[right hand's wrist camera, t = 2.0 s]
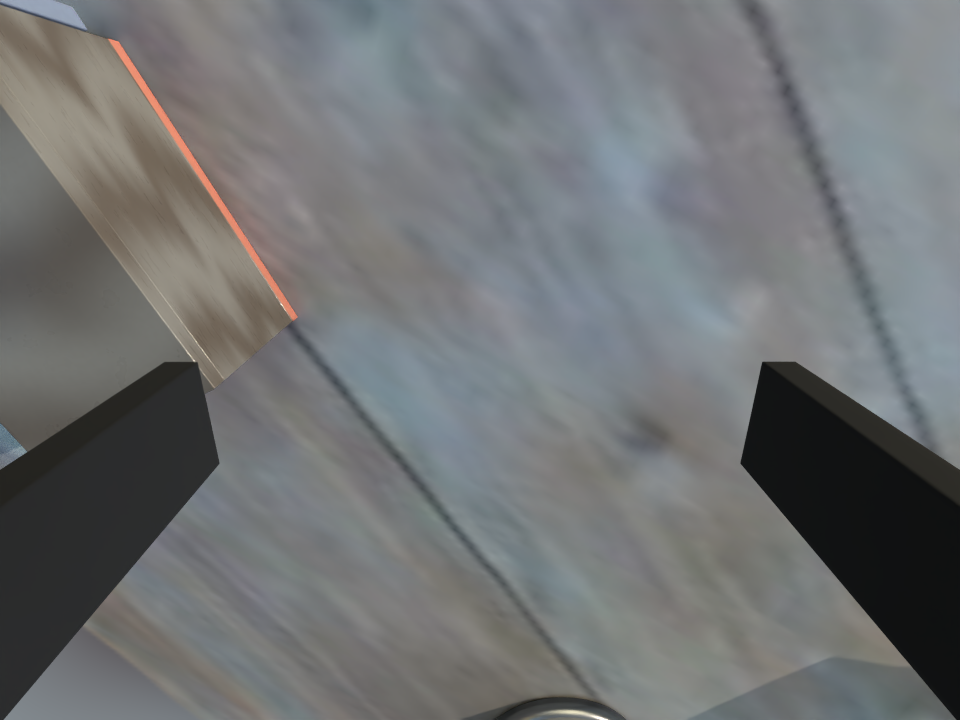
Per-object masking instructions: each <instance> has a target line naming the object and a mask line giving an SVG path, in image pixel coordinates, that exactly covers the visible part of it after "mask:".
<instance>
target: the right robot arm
mask: <svg viewBox="0 0 960 720" xmlns="http://www.w3.org/2000/svg"><path fill="white" fill-rule="evenodd" d="M218 465H219V459H218V454H217V449H216V445H215V440H214V436H213V431H212V426H211V422H210V417H209V412H208V408H207V403H206V398H205V394H204V389H203V384H202V380H201V375H200V370H199V366H198V362H164V363H162V364H161V365H159V366H158V367H156V368H154V369H153V370H151V371H150V372H148V373H147V374H145V375H144V376H142V377H141V378H139V379H138V380H136V381H135V382H133V383H132V384H130V385H129V386H127V387H126V388H124V389H123V390H121V391H120V392H118V393H116V394H115V395H113V396H112V397H110V398H109V399H107V400H106V401H104V402H103V403H101V404H100V405H98V406H97V407H95V408H94V409H92V410H91V411H89V412H88V413H86V414H85V415H83V416H82V417H80V418H78V419H77V420H75V421H74V422H72V423H71V424H69V425H68V426H66V427H65V428H63V429H62V430H60V431H59V432H57V433H56V434H54V435H53V436H51V437H50V438H48V439H47V440H45V441H44V442H42V443H40V444H39V445H37V446H36V447H34V448H33V449H31V450H30V451H28V452H27V453H25V454H24V455H22V456H21V457H19V458H18V459H16V460H15V461H13V462H12V463H10V464H9V465H7V466H6V467H4V468H2V469H1V470H0V720H4V718H5V717H6V716H7V715H8V714H9V713H10V711H11V710H12V709H13V708H14V707H15V705H16V704H17V703H18V702H19V701H20V699H21V698H22V697H23V696H24V695H25V694H26V692H27V691H28V690H29V689H30V688H31V686H32V685H33V684H34V683H35V682H36V681H37V679H38V678H39V677H40V676H41V675H42V673H43V672H44V671H45V670H46V669H47V667H48V666H49V665H50V664H51V663H52V662H53V660H54V659H55V658H56V657H57V656H58V654H59V653H60V652H61V651H62V650H63V649H64V647H65V646H66V645H67V644H68V643H69V641H70V640H71V639H72V638H73V637H74V635H75V634H76V633H77V632H78V631H79V630H80V628H81V627H82V626H83V625H84V624H85V622H86V621H87V620H88V619H89V618H90V616H91V615H92V614H93V613H94V612H95V611H96V609H97V608H98V607H99V606H100V605H101V603H102V602H103V601H104V600H105V599H106V597H107V596H108V595H109V594H110V593H111V592H112V590H113V589H114V588H115V587H116V586H117V584H118V583H119V582H120V581H121V580H122V579H123V577H124V576H125V575H126V574H127V573H128V571H129V570H130V569H131V568H132V567H133V565H134V564H135V563H136V562H137V561H138V560H139V558H140V557H141V556H142V555H143V554H144V552H145V551H146V550H147V549H148V548H149V546H150V545H151V544H152V543H153V542H154V541H155V539H156V538H157V537H158V536H159V535H160V533H161V532H162V531H163V530H164V529H165V527H166V526H167V525H168V524H169V523H170V522H171V520H172V519H173V518H174V517H175V516H176V514H177V513H178V512H179V511H180V510H181V509H182V507H183V506H184V505H185V504H186V503H187V501H188V500H189V499H190V498H191V497H192V495H193V494H194V493H195V492H196V491H197V490H198V488H199V487H200V486H201V485H202V484H203V482H204V481H205V480H206V479H207V478H208V476H209V475H210V474H211V473H212V472H213V471H214V469H215V468H216V467H217V466H218ZM741 465H742V466H743V467H744V468H745V469H746V471H747V472H748V473H749V474H750V475H751V476H752V478H753V479H754V480H755V481H756V482H757V484H758V485H759V486H760V487H761V488H762V490H763V491H764V492H765V493H766V494H767V495H768V497H769V498H770V499H771V500H772V501H773V503H774V504H775V505H776V506H777V507H778V509H779V510H780V511H781V512H782V513H783V514H784V516H785V517H786V518H787V519H788V520H789V522H790V523H791V524H792V525H793V526H794V527H795V529H796V530H797V531H798V532H799V533H800V535H801V536H802V537H803V538H804V539H805V541H806V542H807V543H808V544H809V545H810V546H811V548H812V549H813V550H814V551H815V552H816V554H817V555H818V556H819V557H820V558H821V560H822V561H823V562H824V563H825V564H826V565H827V567H828V568H829V569H830V570H831V571H832V573H833V574H834V575H835V576H836V577H837V579H838V580H839V581H840V582H841V583H842V584H843V586H844V587H845V588H846V589H847V590H848V592H849V593H850V594H851V595H852V596H853V597H854V599H855V600H856V601H857V602H858V603H859V605H860V606H861V607H862V608H863V609H864V611H865V612H866V613H867V614H868V615H869V616H870V618H871V619H872V620H873V621H874V622H875V624H876V625H877V626H878V627H879V628H880V630H881V631H882V632H883V633H884V634H885V635H886V637H887V638H888V639H889V640H890V641H891V643H892V644H893V645H894V646H895V647H896V649H897V650H898V651H899V652H900V653H901V654H902V656H903V657H904V658H905V659H906V660H907V662H908V663H909V664H910V665H911V666H912V667H913V669H914V670H915V671H916V672H917V673H918V675H919V676H920V677H921V678H922V679H923V681H924V682H925V683H926V684H927V685H928V686H929V688H930V689H931V690H932V691H933V692H934V694H935V695H936V696H937V697H938V698H939V700H940V701H941V702H942V703H943V704H944V705H945V707H946V708H947V709H948V710H949V711H950V713H951V714H952V715H953V716H954V717H955V718H956V720H960V470H959V469H958V468H956V467H954V466H953V465H951V464H950V463H948V462H947V461H945V460H944V459H942V458H941V457H939V456H938V455H936V454H935V453H933V452H932V451H930V450H929V449H927V448H926V447H924V446H923V445H921V444H920V443H918V442H916V441H915V440H913V439H912V438H910V437H909V436H907V435H906V434H904V433H903V432H901V431H900V430H898V429H897V428H895V427H894V426H892V425H891V424H889V423H888V422H886V421H885V420H883V419H882V418H880V417H878V416H877V415H875V414H874V413H872V412H871V411H869V410H868V409H866V408H865V407H863V406H862V405H860V404H859V403H857V402H856V401H854V400H853V399H851V398H850V397H848V396H847V395H845V394H844V393H842V392H840V391H839V390H837V389H836V388H834V387H833V386H831V385H830V384H828V383H827V382H825V381H824V380H822V379H821V378H819V377H818V376H816V375H815V374H813V373H812V372H810V371H809V370H807V369H806V368H804V367H802V366H801V365H799V364H798V363H796V362H762V366H761V370H760V375H759V380H758V384H757V389H756V394H755V398H754V403H753V408H752V412H751V417H750V422H749V426H748V431H747V436H746V440H745V445H744V449H743V454H742V459H741ZM496 720H626V719H625V718H623V717H622V716H621V715H620V714H618V713H617V712H616V711H614V710H612V709H611V708H609V707H606V706H604V705H602V704H599V703H596V702H593V701H589V700H584V699H578V698H547V699H541V700H536V701H532V702H529V703H525V704H522V705H520V706H517V707H515V708H513V709H511V710H509V711H507V712H506V713H504V714H503V715H501V716H500V717H498V718H497V719H496Z"/></svg>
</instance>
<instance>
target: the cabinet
mask: <svg viewBox="0 0 960 720" xmlns="http://www.w3.org/2000/svg"><path fill="white" fill-rule="evenodd" d="M296 318H297V315H296V314H295V312H294V311H293V309H292V308H291V306H290V304H289V303H288V301H287V300H286V298H285V297H284V295H283V294H282V292H281V291H280V289H279V288H278V286H277V285H276V283H275V281H274V280H273V278H272V277H271V275H270V274H269V272H268V271H267V269H266V268H265V266H264V265H263V263H262V261H261V260H260V258H259V257H258V255H257V254H256V252H255V251H254V249H253V248H252V246H251V245H250V243H249V241H248V240H247V238H246V237H245V235H244V234H243V232H242V231H241V229H240V228H239V226H238V225H237V223H236V222H235V220H234V218H233V217H232V215H231V214H230V212H229V211H228V209H227V208H226V206H225V205H224V203H223V202H222V200H221V198H220V197H219V195H218V194H217V192H216V191H215V189H214V188H213V186H212V185H211V183H210V182H209V180H208V179H207V177H206V175H205V174H204V172H203V171H202V169H201V168H200V166H199V165H198V163H197V162H196V160H195V159H194V157H193V155H192V154H191V152H190V151H189V149H188V148H187V146H186V145H185V143H184V142H183V140H182V139H181V137H180V136H179V134H178V132H177V131H176V129H175V128H174V126H173V125H172V123H171V122H170V120H169V119H168V117H167V116H166V114H165V112H164V111H163V109H162V108H161V106H160V105H159V103H158V102H157V100H156V99H155V97H154V96H153V94H152V92H151V91H150V89H149V88H148V86H147V85H146V83H145V82H144V80H143V79H142V77H141V76H140V74H139V73H138V71H137V69H136V68H135V66H134V65H133V63H132V62H131V60H130V59H129V57H128V56H127V54H126V53H125V51H124V49H123V48H122V46H121V45H120V43H119V42H118V41H114V40H111V39H106V38H103V37H100V36H97V35H93V34H90V33H87V32H84V31H81V30H78V29H75V28H71V27H68V26H65V25H62V24H59V23H56V22H53V21H49V20H46V19H43V18H40V17H37V16H34V15H31V14H27V13H24V12H21V11H18V10H15V9H12V8H9V7H5V6H2V5H0V423H1V424H2V425H3V426H4V427H5V428H6V429H7V430H8V431H9V433H10V434H11V435H12V436H13V437H14V438H15V439H16V440H17V441H18V442H19V443H20V444H21V445H22V446H23V447H24V448H25V450H26V451H27V452H28V451H30V450H31V449H33V448H34V447H36V446H37V445H39V444H40V443H42V442H44V441H45V440H47V439H48V438H50V437H51V436H53V435H54V434H56V433H57V432H59V431H60V430H62V429H63V428H65V427H66V426H68V425H69V424H71V423H72V422H74V421H75V420H77V419H78V418H80V417H82V416H83V415H85V414H86V413H88V412H89V411H91V410H92V409H94V408H95V407H97V406H98V405H100V404H101V403H103V402H104V401H106V400H107V399H109V398H110V397H112V396H113V395H115V394H116V393H118V392H120V391H121V390H123V389H124V388H126V387H127V386H129V385H130V384H132V383H133V382H135V381H136V380H138V379H139V378H141V377H142V376H144V375H145V374H147V373H148V372H150V371H151V370H153V369H154V368H156V367H158V366H159V365H161V364H162V363H164V362H198V366H199V370H200V375H201V380H202V384H203V389H204V394H206V393H208V392H210V391H212V390H214V389H215V388H216V387H218V386H219V385H220V384H221V383H222V382H223V381H224V380H226V379H227V378H228V377H229V376H230V375H231V374H232V373H234V372H235V371H236V370H237V369H238V368H239V367H240V366H242V365H243V364H244V363H245V362H246V361H247V360H248V359H250V358H251V357H252V356H253V355H254V354H255V353H256V352H258V351H259V350H260V349H261V348H262V347H263V346H264V345H266V344H267V343H268V342H269V341H270V340H271V339H273V338H274V337H275V336H276V335H277V334H278V333H279V332H281V331H282V330H283V329H284V328H285V327H286V326H287V325H289V324H290V323H291V322H292V321H294V320H295V319H296Z"/></svg>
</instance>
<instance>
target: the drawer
mask: <svg viewBox="0 0 960 720" xmlns="http://www.w3.org/2000/svg"><path fill="white" fill-rule="evenodd" d="M0 5H2V6H5V7H9V8H12V9H15V10H18V11H21V12H24V13H27V14H31V15H34V16H37V17H40V18H43V19H46V20H49V21H53V22H56V23H59V24H62V25H65V26H68V27H71V28H75V29H78V30H81V31H84V32H85V31H87V28H86V27H85V25H84V24H83V22H82V21H81V19H80V18H79V16H78V15H77V13H76V12H75V10H74V9H73V8H72V7H71V6H68V5H66V4H63V3H60V2H57V1H55V0H0Z"/></svg>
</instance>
